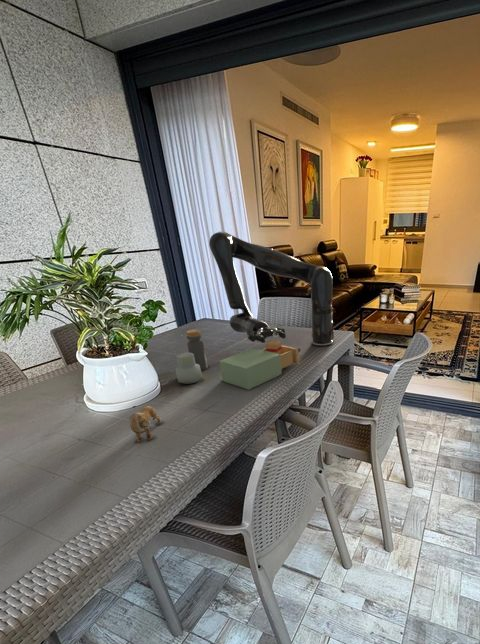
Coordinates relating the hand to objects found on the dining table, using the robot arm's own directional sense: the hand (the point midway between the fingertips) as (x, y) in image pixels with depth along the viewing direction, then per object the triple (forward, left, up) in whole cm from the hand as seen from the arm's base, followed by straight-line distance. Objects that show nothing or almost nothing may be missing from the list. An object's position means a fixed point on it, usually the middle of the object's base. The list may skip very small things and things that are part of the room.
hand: (274, 338), depth 132 cm
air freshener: (+27, -18, -12) cm, 35 cm away
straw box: (0, -1, -10) cm, 10 cm away
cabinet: (+12, -1, -12) cm, 17 cm away
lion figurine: (+56, +5, -12) cm, 58 cm away
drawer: (-1, -1, -11) cm, 11 cm away
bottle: (+17, -26, -12) cm, 33 cm away
